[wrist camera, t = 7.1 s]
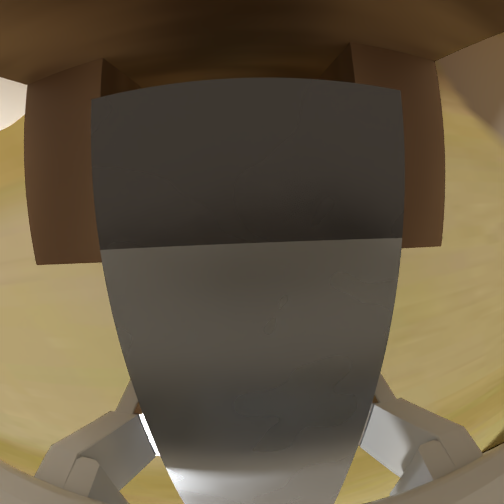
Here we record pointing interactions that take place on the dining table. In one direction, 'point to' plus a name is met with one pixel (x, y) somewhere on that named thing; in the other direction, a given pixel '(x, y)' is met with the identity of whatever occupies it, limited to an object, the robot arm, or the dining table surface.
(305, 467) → the rectangular grey metal block
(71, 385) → the dining table surface
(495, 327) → the dining table surface
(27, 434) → the dining table surface
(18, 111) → the canister
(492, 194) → the dining table surface
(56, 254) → the wooden chair block
